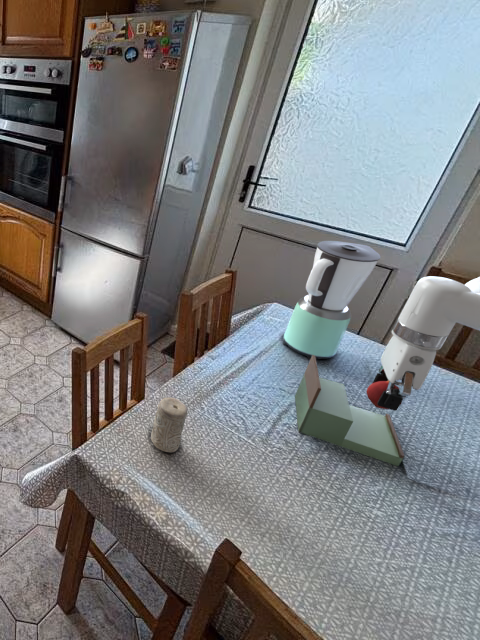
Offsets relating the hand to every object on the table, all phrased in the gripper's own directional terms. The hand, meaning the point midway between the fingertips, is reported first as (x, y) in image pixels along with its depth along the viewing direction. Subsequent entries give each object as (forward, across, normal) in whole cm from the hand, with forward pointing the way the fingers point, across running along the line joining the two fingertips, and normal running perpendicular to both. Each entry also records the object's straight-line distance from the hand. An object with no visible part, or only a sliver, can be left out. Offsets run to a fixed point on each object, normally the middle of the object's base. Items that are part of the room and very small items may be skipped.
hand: (383, 397), depth 94 cm
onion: (+3, 0, 0) cm, 3 cm away
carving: (+12, -28, +40) cm, 50 cm away
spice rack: (+12, 0, +4) cm, 13 cm away
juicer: (+12, +33, +9) cm, 36 cm away
